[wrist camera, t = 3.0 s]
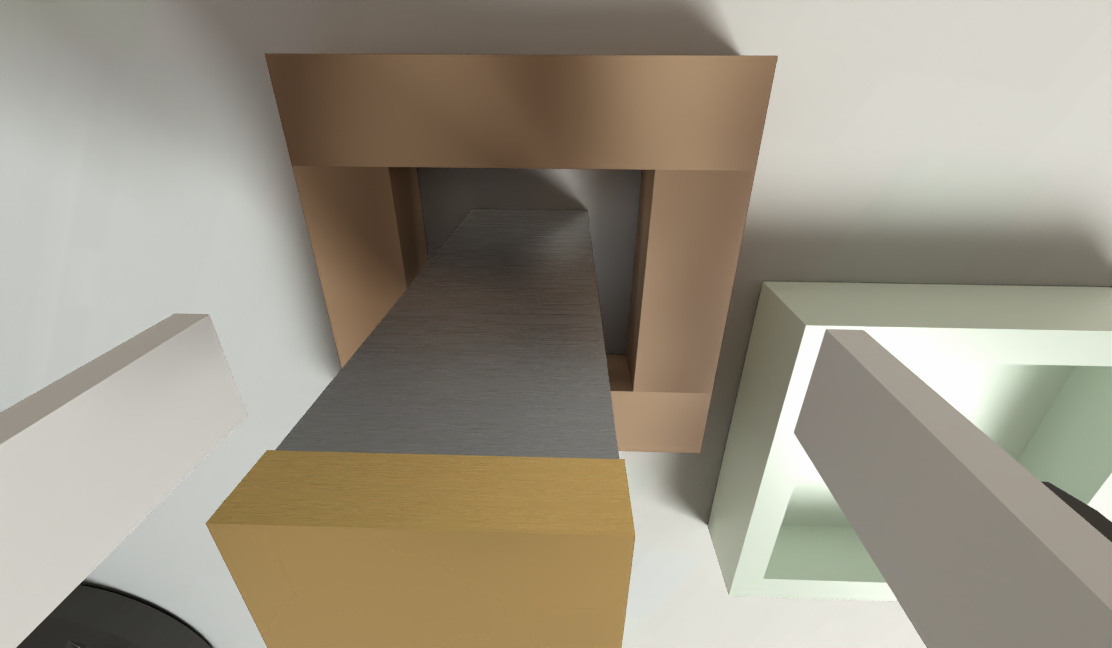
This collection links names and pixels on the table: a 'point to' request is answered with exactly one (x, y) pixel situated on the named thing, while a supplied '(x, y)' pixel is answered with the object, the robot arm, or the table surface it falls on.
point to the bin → (942, 363)
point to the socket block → (549, 143)
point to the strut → (452, 465)
